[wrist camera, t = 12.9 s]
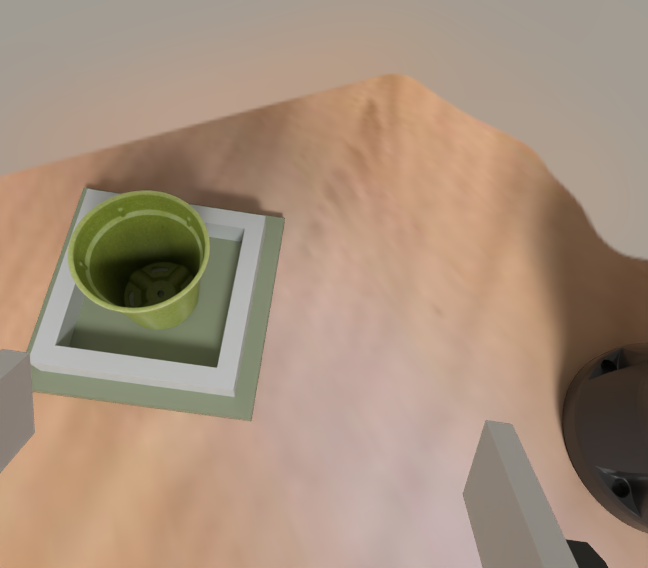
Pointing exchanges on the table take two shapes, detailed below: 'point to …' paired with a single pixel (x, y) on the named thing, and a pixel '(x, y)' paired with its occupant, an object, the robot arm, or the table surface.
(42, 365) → the grey green square tray
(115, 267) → the plant pot
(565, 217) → the table surface
